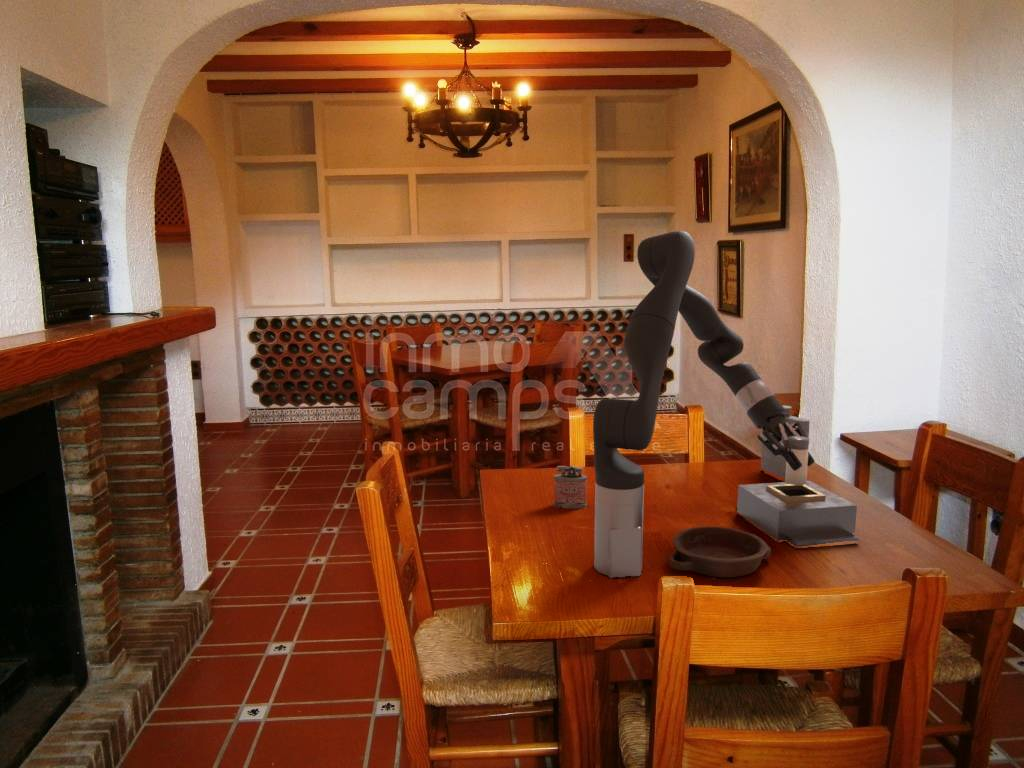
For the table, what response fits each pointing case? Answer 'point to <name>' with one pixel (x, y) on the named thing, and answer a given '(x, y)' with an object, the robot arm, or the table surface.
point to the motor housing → (798, 512)
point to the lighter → (570, 488)
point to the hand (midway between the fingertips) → (804, 466)
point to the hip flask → (778, 463)
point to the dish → (718, 551)
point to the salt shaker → (801, 451)
